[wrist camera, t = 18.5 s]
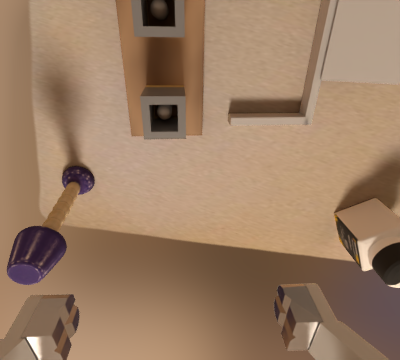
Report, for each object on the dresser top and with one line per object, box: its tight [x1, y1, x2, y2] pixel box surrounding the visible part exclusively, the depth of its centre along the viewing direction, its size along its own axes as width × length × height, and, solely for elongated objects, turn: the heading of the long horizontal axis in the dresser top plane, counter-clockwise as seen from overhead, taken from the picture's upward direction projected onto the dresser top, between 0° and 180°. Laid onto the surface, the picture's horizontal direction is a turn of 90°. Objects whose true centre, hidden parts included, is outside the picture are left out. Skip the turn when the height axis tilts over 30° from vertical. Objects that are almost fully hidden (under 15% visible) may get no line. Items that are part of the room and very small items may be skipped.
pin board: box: [116, 0, 205, 136], centre depth 28 cm, size 9×20×6 cm, turn 179°
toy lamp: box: [7, 166, 94, 285], centre depth 30 cm, size 5×5×17 cm
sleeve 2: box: [140, 85, 186, 139], centre depth 29 cm, size 4×4×6 cm
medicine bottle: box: [334, 198, 400, 288], centre depth 40 cm, size 7×7×12 cm
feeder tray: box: [228, 0, 400, 126], centre depth 29 cm, size 18×19×5 cm
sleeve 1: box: [131, 0, 185, 37], centre depth 25 cm, size 4×4×6 cm
